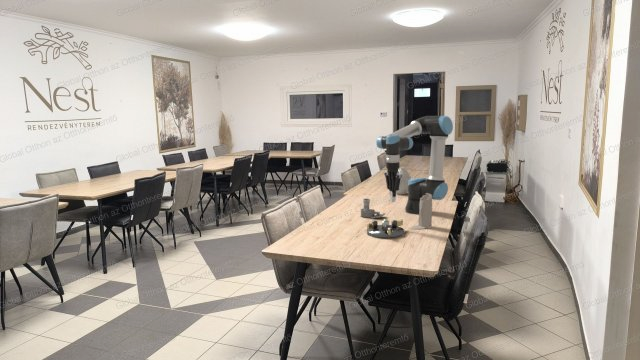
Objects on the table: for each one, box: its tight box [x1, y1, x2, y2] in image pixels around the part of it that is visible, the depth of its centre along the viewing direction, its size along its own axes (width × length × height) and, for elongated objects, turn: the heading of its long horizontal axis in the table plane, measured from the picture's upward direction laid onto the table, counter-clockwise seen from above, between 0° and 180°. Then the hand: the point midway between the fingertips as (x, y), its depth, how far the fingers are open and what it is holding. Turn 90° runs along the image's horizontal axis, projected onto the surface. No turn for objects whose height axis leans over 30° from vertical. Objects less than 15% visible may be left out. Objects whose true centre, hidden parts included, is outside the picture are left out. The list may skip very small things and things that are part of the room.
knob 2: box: [385, 224, 391, 235], centre depth 229 cm, size 8×3×4 cm, turn 1°
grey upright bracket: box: [409, 193, 433, 230], centre depth 247 cm, size 7×14×20 cm, turn 112°
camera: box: [360, 198, 386, 219], centre depth 273 cm, size 9×12×15 cm
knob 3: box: [391, 218, 404, 228], centre depth 242 cm, size 8×3×4 cm, turn 121°
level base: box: [366, 218, 405, 240], centre depth 238 cm, size 21×21×8 cm
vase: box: [396, 166, 412, 196], centre depth 345 cm, size 16×16×22 cm
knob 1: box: [366, 220, 379, 230], centre depth 239 cm, size 8×3×4 cm, turn 133°
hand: (392, 201), depth 246 cm, fingers closed
